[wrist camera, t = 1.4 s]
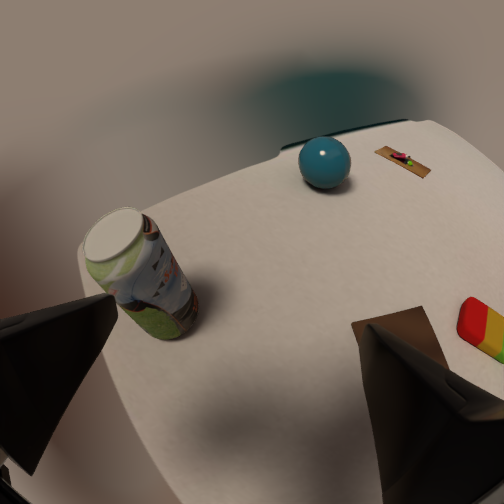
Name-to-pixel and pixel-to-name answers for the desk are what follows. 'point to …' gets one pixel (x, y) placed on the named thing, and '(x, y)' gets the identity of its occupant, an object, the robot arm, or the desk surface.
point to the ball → (324, 162)
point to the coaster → (408, 331)
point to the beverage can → (140, 272)
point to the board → (404, 161)
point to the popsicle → (482, 328)
